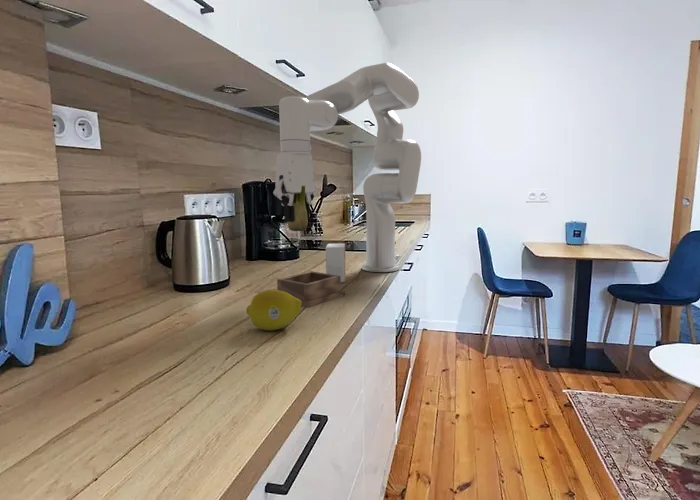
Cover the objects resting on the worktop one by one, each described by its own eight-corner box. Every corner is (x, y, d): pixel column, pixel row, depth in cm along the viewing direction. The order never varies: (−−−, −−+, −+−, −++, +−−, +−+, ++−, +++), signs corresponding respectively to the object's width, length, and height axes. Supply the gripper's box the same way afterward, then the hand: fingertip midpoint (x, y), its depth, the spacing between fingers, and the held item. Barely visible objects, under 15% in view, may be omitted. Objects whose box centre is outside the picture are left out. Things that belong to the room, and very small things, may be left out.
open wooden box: (311, 287, 118) (310, 270, 118) (345, 294, 111) (344, 275, 110) (273, 298, 108) (272, 279, 107) (308, 307, 100) (307, 286, 99)
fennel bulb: (284, 230, 112) (282, 184, 110) (300, 229, 115) (299, 184, 113) (294, 232, 107) (293, 184, 106) (311, 231, 110) (310, 184, 108)
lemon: (242, 335, 82) (240, 295, 81) (253, 322, 90) (251, 285, 88) (298, 336, 81) (297, 295, 80) (304, 322, 89) (303, 285, 88)
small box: (344, 282, 124) (344, 247, 123) (325, 282, 124) (325, 247, 123) (345, 276, 132) (345, 243, 131) (327, 276, 132) (327, 243, 131)
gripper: (308, 151, 117) (310, 217, 119) (259, 147, 104) (262, 222, 107) (329, 149, 112) (330, 219, 115) (279, 145, 99) (282, 224, 102)
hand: (297, 219), depth 111 cm, fingers closed on fennel bulb, 4 cm apart
